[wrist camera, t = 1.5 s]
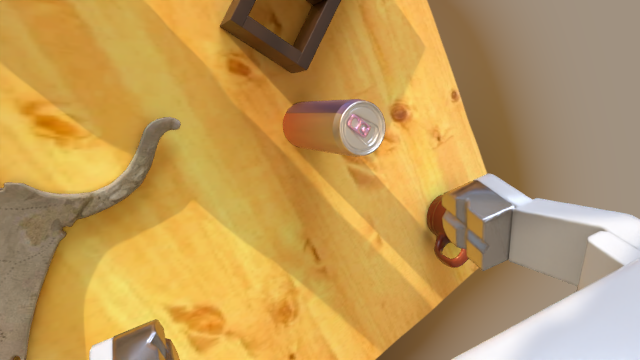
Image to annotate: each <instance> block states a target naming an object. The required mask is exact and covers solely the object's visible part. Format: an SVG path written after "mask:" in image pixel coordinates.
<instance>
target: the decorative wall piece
mask: <svg viewBox="0 0 640 360" xmlns="http://www.w3.org/2000/svg"><path fill="white" fill-rule="evenodd" d="M180 125H181V124H180V122H179V120H177V119H175V118H171V117H164V118H160V119H157V120H155V121H153V122H151V123H150V124H149V125H148V126H147V127H146V128H145V130H144V132H143V134H142V137H141V140H140V143H139V146H138V148H137V151H136V153H135V155H134V157H133V159H132V161H131V162H130V164H129V166H128V167H127V169H126V170H125V171H124V172H123V173H122V174H121V175H120V176H119V177H118V178H117V179H116V180H115V181H114V182H112V183H111V184H109V185H108V186H105V187H103V188H101V189H99V190H96V191H93V192H89V193H80V194H55V193H49V192H43V191H40V190H38V189H35V188H33V187H30V186H28V185H26V184H23V183H12V182H7V183H4V188H0V360H14V357H16V356H19V357H20V358H21V360H26V356H27V347H28V339H29V333H30V328H31V324H32V319H33V315H34V311H35V307H36V304H37V300H38V297H39V293H40V291H41V288H42V285H43V282H44V279H45V276H46V274H47V271H48V268H49V265H50V263H51V260H52V258H53V255H54V253H55V251H56V248H57V246H58V244H59V242H60V241H61V240H62V239H63V238H64V237H65V236H66V232H64V231H63V227H65V226H68V227H71V226H72V225H73V223H74V222H75V221H76V220H77V219H81V218H85V217H88V216H90V215H93V214H96V213H98V212H101V211H103V210H105V209H107V208H109V207H111V206H113V205H115V204H117V203H118V202H120V201H122V200H123V199H125V198H126V197H128V196H129V195H130V194H131V193H132V192H134V191H135V190H136V189H137V188H138V187H139V186H140V185H141V184H142V182H143V181H144V179H145V177H146V175H147V173H148V171H149V169H150V167H151V165H152V161H153V158H154V155H155V151H156V148H157V145H158V142H159V140H160V137H161V136H162V135H163V134H164V133H165V132H167V131H169V130H176V129H179V128H180Z"/></svg>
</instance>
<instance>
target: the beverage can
mask: <svg viewBox="0 0 640 360" xmlns="http://www.w3.org/2000/svg"><path fill="white" fill-rule="evenodd" d="M283 130H284V134H285V136H286V138H287V139H288V141H289V142H290V143H292V144H293V145H295V146H297V147H301V148H306V149H312V150H318V151H324V152H330V153H336V154H342V155H348V156H355V157H357V156H363V155H368V154H370V153H372V152H374V151H375V150H376V149H377V148H378V147H379V146H380V144H381V143H382V141H383V138H384V135H385V120H384V117H383V114H382V112H381V111H380V109H379V108H378V107H377V106H376V105H374V104H373V103H371V102H368V101H364V100H360V99H352V100H331V101H310V102H299V103H296V104H294V105H293V106H291V107H290V108H289V109H288V111H287V112H286V114H285V116H284V120H283Z"/></svg>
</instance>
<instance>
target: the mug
mask: <svg viewBox="0 0 640 360" xmlns="http://www.w3.org/2000/svg"><path fill="white" fill-rule="evenodd" d="M442 196H443V195H440V196H438V197H437V198H436V199H435V200H434V201H433V202H432V203H431V205H430V207H429V210H428V213H427V224H428V227H429V229H430V230H431V232H432V233H433V234H435V235H436V236H437V239H436V243H435V248H434V251H435V254H436V256H437V258H438V259H439V260H440V261H441V262H442V263H444V264H445V265H447V266H449V267H454V268H455V267H459V266H461V265H463V264H464V263H465V262H466V261H467V260H468V259H469V258H468V257H467V251H466V249H463V248H461V252H460V253H459V255H458V256H457V257H455V258H453V259H450V258H447V257H445V256H444V255H443V254H442V251H443V248H444V247H445V245H446V244H448V243H450V242H451V241H450V239H449V238H448V237H447V235H446V233H445V230H444V228H443V220H442V217H443V215H444V213H445V211H446V210H447V209H446V208H444V207H443V206H442ZM451 243H452V242H451Z"/></svg>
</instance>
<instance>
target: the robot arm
mask: <svg viewBox="0 0 640 360" xmlns="http://www.w3.org/2000/svg"><path fill="white" fill-rule="evenodd" d="M442 206H443V207H444V208H446V209H447V210H446V211H445V213H444V215H443V217H442V220H443V228H444V230H445V233H446V235H447V237H448V238H449V239H450V241H451V242H452V243H453V244H454V245H455V246H456V247H459V248H463V249H466V251H467V257H468V258H469V259H470V260H471V261H472V262H473V263H475V264H476V265H477V266H478V267H479V268H480V269H481V270H482V271H485V270H487V269H489V268H491V267H493V266H495V265H497V264H500V263H502V262H504V261H506V260H508V259H509V261H510V262H513V263H516V264H518V265H521V266H524V267H527V268H529V269H532V270H535V271H537V272H540V273H543V274H546V275H548V276H551V277H554V278H556V279H559V280H562V281H565V282H567V283H570V284H573V285H575V286H577V291H576V292H575V293H573V294H571V295H570V296H568V297H566V298H564V299H562V300H560V301H559V302H557V303H555V304H553V305H551V306H549V307H547V308H546V309H544V310H542V311H540V312H538V313H536V314H535V315H533V316H531V317H529V318H527V319H525V320H523V321H521V322H520V323H518V324H516V325H514V326H512V327H510V328H508V329H507V330H505V331H503V332H501V333H500V334H498V335H496V336H494V337H492V338H490V339H488V340H486V341H485V342H483V343H481V344H479V345H477V346H475V347H474V348H472V349H470V350H468V351H466V352H464V353H462V354H460V355H459V356H457V357H455V358H453V359H451V360H640V219H638V218H636V217H634V216H632V215H630V214H625V213H619V212H614V211H608V210H602V209H596V208H591V207H585V206H579V205H574V204H568V203H562V202H556V201H551V200H544V199H539V198H536V199H534V200H532V199H530V198H529V197H527V196H526V195H524V194H523V193H521V192H520V191H518V190H516V189H515V188H513V187H512V186H510V185H509V184H507V183H506V182H504V181H503V180H501V179H499V178H498V177H496V176H495V175H493V174H486V175H484V176H481V177H479V178H477V179H475V180H473V181H471V182H468V183H466V184H464V185H462V186H459V187H457V188H455V189H453V190H451V191H448V192H446V193H444V194H443V196H442ZM89 360H180V359H179V356H178V353H177V351H176V349H175V346H174V345H173V343H172V341H171V340H170V339H166V338H165V334H164V328H163V327H162V325H161V324H160V322H159V321H158V320H156V319H155V320H153V321H150V322H148V323H145V324H143V325H140V326H138V327H136V328H133V329H131V330H128V331H126V332H123V333H121V334H119V335H116V336H114V337H113V338H110V339H108V340H105V341H103V342H100V343H98V344H95V345H93V346H92V348H91V350H90V354H89Z"/></svg>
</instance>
